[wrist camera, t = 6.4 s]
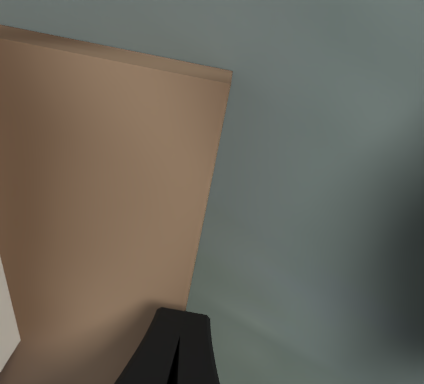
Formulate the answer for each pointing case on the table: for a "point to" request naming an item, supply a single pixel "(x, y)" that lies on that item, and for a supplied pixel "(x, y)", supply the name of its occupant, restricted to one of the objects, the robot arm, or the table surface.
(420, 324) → the table surface
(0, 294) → the cream box
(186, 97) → the tan wooden board
